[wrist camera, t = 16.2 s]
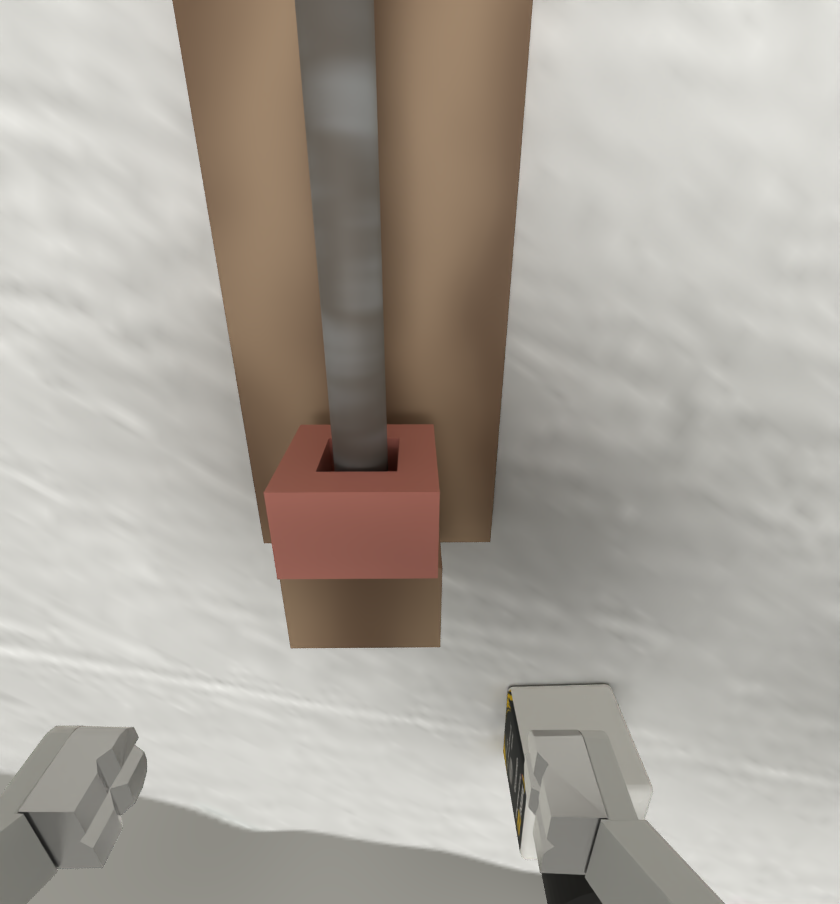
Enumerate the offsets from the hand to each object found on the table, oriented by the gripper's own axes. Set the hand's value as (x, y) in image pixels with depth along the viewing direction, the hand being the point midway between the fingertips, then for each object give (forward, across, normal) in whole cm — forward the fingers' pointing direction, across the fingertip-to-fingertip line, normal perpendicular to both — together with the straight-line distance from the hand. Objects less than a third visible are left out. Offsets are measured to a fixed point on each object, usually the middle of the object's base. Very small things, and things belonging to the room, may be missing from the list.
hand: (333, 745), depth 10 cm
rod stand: (+17, -1, +9) cm, 19 cm away
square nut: (+13, -1, 0) cm, 13 cm away
